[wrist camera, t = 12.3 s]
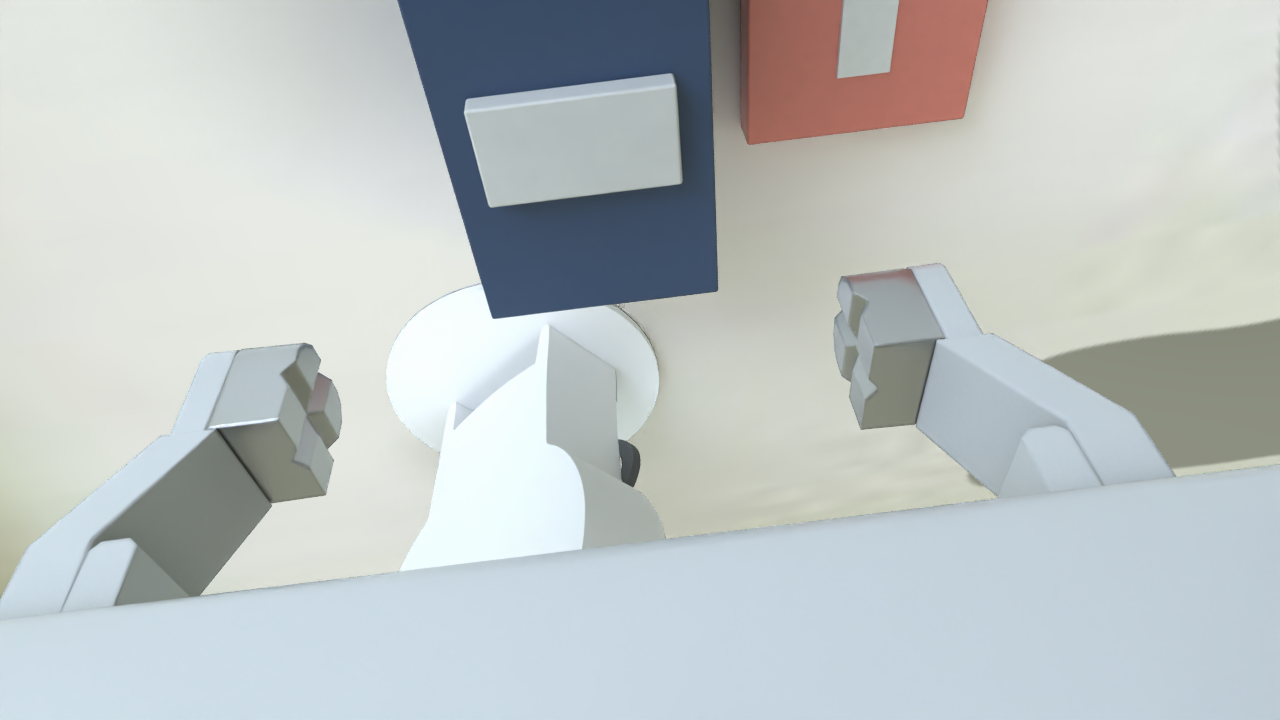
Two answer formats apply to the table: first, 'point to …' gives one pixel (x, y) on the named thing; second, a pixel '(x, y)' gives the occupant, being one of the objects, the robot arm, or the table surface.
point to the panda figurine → (525, 428)
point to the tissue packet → (854, 64)
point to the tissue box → (575, 145)
